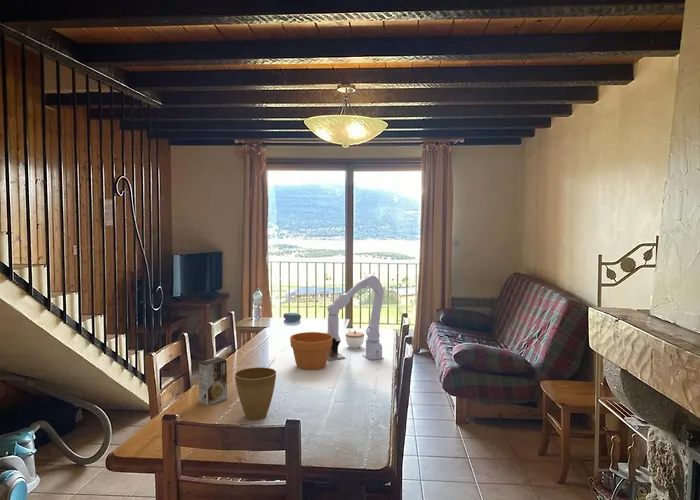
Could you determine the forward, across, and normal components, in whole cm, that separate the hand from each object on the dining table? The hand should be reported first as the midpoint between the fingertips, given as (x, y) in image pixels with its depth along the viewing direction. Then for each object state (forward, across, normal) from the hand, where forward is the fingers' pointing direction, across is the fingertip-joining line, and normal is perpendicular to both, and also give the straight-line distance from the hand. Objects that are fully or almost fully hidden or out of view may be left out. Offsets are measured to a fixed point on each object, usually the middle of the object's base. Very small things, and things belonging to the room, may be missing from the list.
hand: (332, 351), depth 259 cm
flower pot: (+3, +11, -16) cm, 20 cm away
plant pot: (+3, +64, -56) cm, 85 cm away
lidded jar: (+3, -16, +20) cm, 26 cm away
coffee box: (+3, +42, -68) cm, 80 cm away
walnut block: (+2, 0, 0) cm, 2 cm away
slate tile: (+3, 0, 0) cm, 3 cm away
